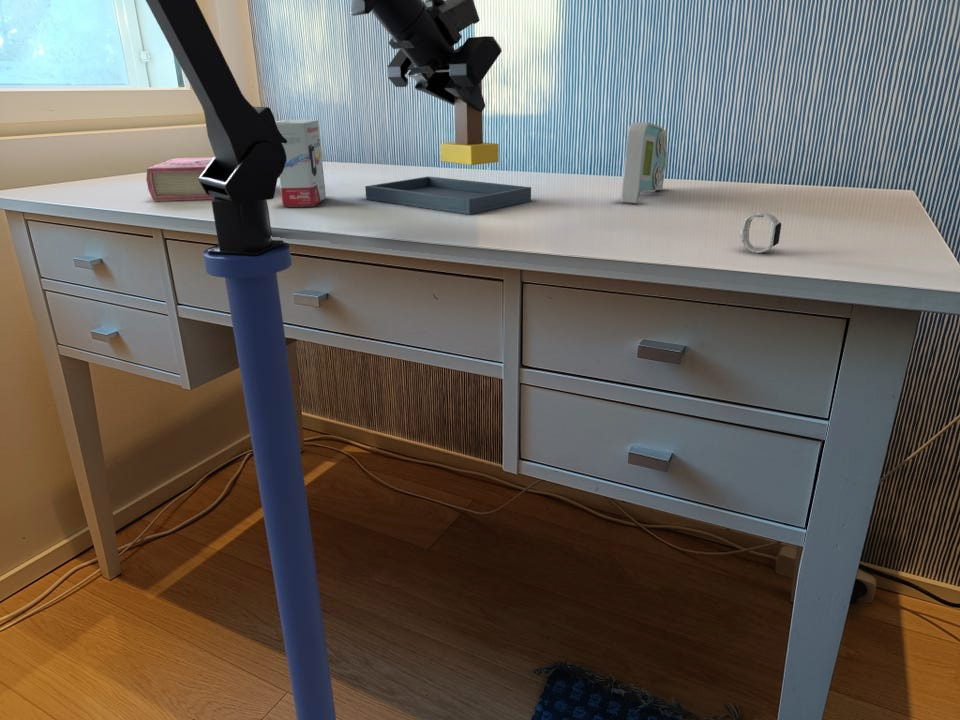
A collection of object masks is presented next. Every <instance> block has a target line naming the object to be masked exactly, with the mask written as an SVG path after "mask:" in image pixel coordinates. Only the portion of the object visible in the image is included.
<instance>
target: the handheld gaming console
mask: <svg viewBox="0 0 960 720" xmlns="http://www.w3.org/2000/svg"><path fill="white" fill-rule="evenodd" d="M667 136H668V131H667V130H665V129H663V127H662V126H661V125H658V124H656V123H655V124H654V123H652V122H638V121H637V122H636V121H635V122H631V123H630V125H629V127H628V130H627V135H626V142H625V143H626V144H625V152H624V153H625V154H624V155H625V156H624V163H623V173H622V181H621V182H622V183H621V192H620V193H621V194H620V202H621V203H622V204H634V205H638V204H639V200H640V197H641V196H640V195H641V194H642V193H655V192H656V191H663V189H664V182H665V181H664V180H665V171H666V170H667V165H668V156H669V154H668V137H667Z"/></svg>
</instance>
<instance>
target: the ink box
mask: <svg viewBox="0 0 960 720" xmlns="http://www.w3.org/2000/svg"><path fill="white" fill-rule="evenodd" d="M275 122H276V125H277V128H278V130H279V132H280V133H281V135H282V136H283V137H284V138H285V139H286V140H287V143H282V145H283V146H284V149H285V152H286V156H287V162H286V163H285V166H284V170H283V172H282V174H281V175H280V177H279V178H278V181H279V188H280V189H279V190H280V196H281V197H280V198H281V207H283V208H295V207H296V208H300V207H301V208H305V207H315V206H317V205H318V204H319V203H321V202H322V201H324V200H326V198H327V192H326V184H325V183H326V182H325V175H324V165H323V155H322V146H321V145H322V144H321V136H320V126H319V120H318V119H282V120H277V121H276V120H275Z"/></svg>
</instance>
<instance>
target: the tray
mask: <svg viewBox="0 0 960 720" xmlns="http://www.w3.org/2000/svg"><path fill="white" fill-rule="evenodd" d="M364 188H365V200H368V201H375V202H382V203H389V204H396V205H403V206H410V207H416V208H423V209H429V210H436V211H443V212H449V213H450V212H451V213H457V214H464V215H473V214H478V213H482V212H488V211H493V210H496V209H501V208H505V207H508V206H514V205H515V206H516V205H519V204H523V203H528V202H531V201H532V186H523V185H515V184H504V183H494V182H486V181H475V180H467V179H456V178H448V177H438V176H428V175H427V176H422V177H416V178H408V179H403V180H396V181H389V182H383V183H377V184H370V185H365V187H364Z"/></svg>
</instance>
